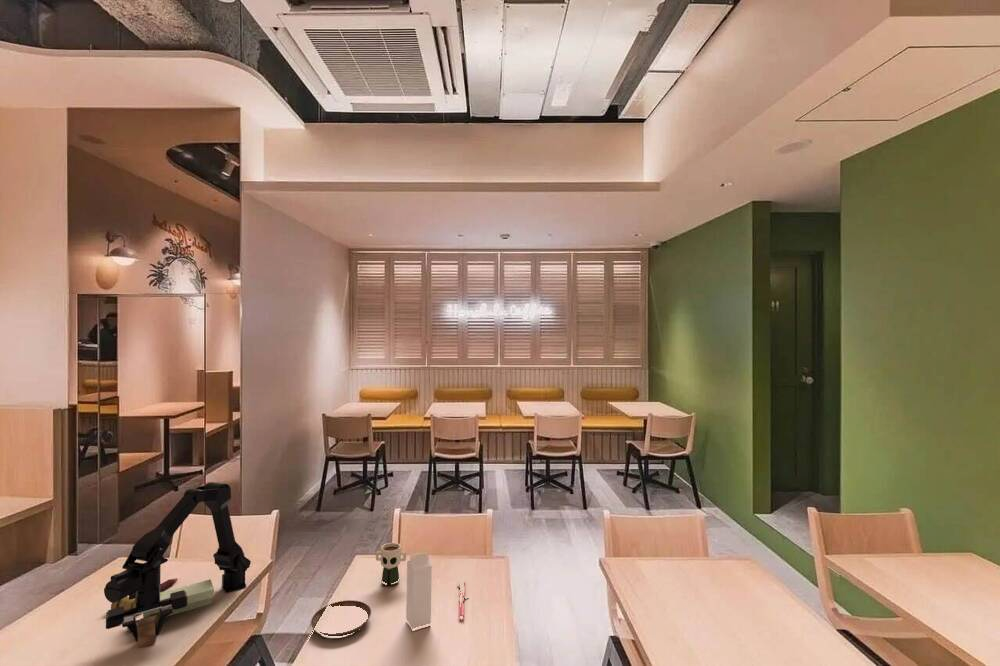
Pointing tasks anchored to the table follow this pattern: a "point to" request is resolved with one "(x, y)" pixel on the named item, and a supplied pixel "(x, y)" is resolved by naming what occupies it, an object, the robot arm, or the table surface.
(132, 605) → the gavel
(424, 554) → the milk
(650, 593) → the table surface
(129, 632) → the token
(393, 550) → the character mug
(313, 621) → the plant saucer
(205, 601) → the plinth shelf
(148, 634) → the pusher tool
